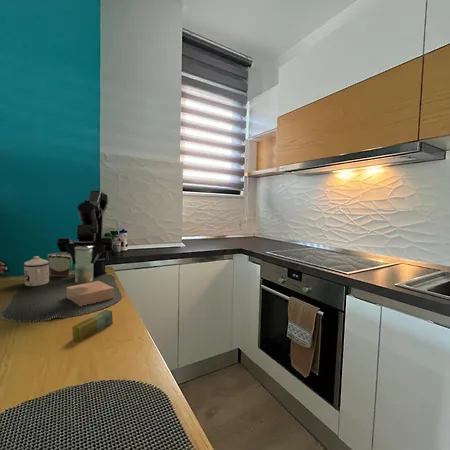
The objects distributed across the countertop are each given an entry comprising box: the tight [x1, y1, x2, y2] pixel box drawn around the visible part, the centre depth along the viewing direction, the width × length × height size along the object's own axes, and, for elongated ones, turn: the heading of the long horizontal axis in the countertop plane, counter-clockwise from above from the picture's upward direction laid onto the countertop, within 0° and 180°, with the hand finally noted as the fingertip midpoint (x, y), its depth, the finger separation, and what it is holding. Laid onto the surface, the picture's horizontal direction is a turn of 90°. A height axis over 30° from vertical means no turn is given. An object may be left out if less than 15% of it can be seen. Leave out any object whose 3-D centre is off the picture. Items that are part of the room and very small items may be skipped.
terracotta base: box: [66, 280, 115, 307], centre depth 102 cm, size 12×12×4 cm
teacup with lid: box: [23, 255, 50, 287], centre depth 115 cm, size 12×9×12 cm
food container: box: [46, 252, 73, 278], centre depth 132 cm, size 12×6×10 cm, turn 84°
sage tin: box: [74, 245, 94, 284], centre depth 101 cm, size 6×6×13 cm
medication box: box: [71, 310, 113, 342], centre depth 77 cm, size 12×3×4 cm, turn 160°
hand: (83, 263), depth 100 cm, fingers closed on sage tin, 6 cm apart
